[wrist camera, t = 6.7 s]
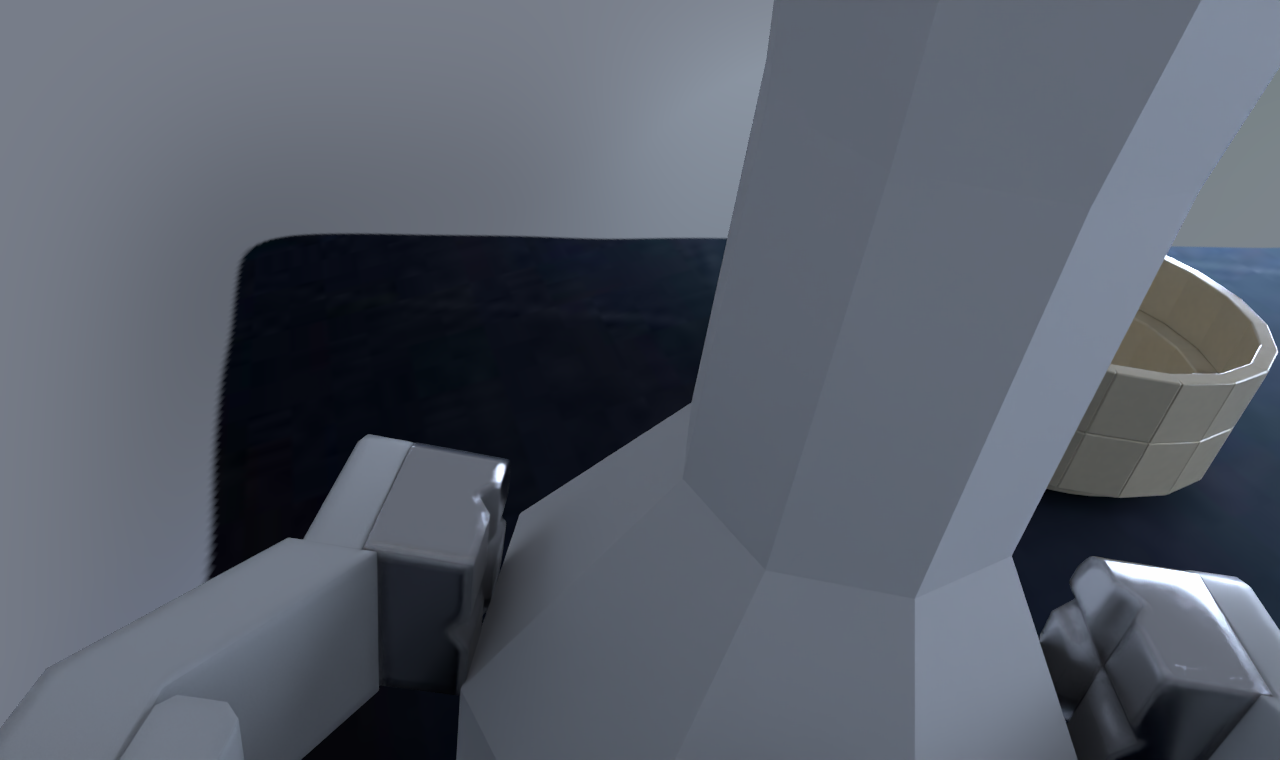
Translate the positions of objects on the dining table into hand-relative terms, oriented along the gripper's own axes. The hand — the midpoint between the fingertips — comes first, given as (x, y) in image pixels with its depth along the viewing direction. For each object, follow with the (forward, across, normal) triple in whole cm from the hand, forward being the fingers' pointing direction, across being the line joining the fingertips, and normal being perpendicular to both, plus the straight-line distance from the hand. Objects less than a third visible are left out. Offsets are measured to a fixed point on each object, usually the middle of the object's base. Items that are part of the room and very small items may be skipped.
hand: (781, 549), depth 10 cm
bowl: (+24, -14, +12) cm, 30 cm away
